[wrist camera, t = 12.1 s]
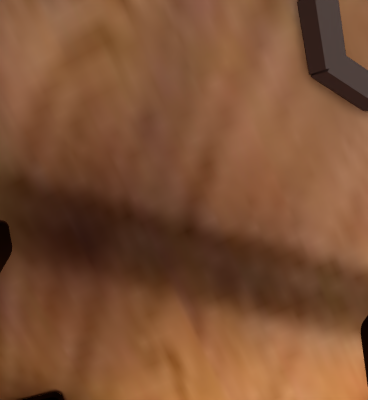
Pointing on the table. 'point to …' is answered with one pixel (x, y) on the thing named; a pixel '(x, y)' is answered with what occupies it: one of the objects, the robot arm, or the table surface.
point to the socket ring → (331, 52)
